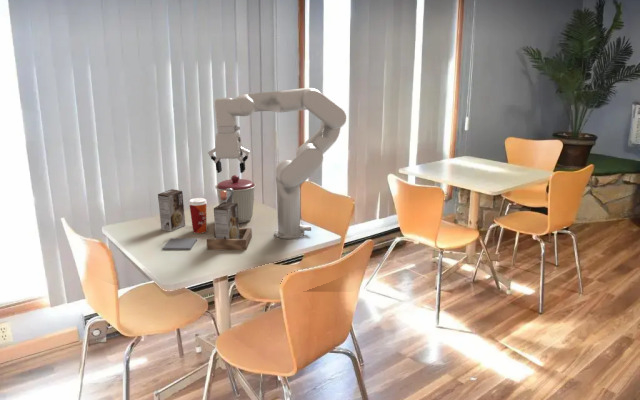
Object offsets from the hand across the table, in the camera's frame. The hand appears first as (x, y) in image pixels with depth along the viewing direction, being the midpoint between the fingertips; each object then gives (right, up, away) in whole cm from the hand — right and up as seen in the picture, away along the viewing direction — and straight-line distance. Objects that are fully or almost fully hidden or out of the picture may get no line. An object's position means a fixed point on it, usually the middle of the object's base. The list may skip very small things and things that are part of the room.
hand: (231, 172), depth 228 cm
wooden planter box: (-1, -28, +4) cm, 29 cm away
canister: (-2, -21, +31) cm, 38 cm away
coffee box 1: (-29, -23, +22) cm, 43 cm away
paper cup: (-16, -25, +17) cm, 34 cm away
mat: (-21, -29, +1) cm, 36 cm away
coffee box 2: (-1, -29, +2) cm, 29 cm away
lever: (-2, -10, 0) cm, 10 cm away
